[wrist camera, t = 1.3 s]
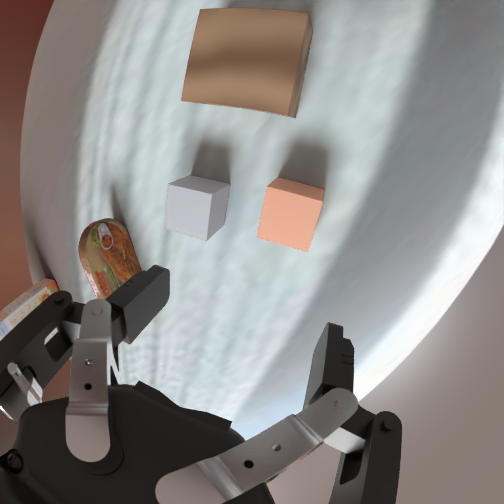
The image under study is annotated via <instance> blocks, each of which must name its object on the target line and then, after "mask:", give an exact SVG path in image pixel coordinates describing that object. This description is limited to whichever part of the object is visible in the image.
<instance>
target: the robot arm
mask: <svg viewBox="0 0 504 504" xmlns="http://www.w3.org/2000/svg"><path fill="white" fill-rule="evenodd" d="M169 295H170V271H169V270H168V269H166V268H163V267H161V266H158V265H154V266H152V267H151V268H150V269H149V270H147V271H141V272H139V273H136V274H134V275H133V276H132V277H131V278H130V279H128V281H126V282H125V283H124V284H123V285H121V286H120V287H119V288H118V289H116V290H115V291H114V292H113V293H112V294H111V295H109V296H108V297H107V298H106V299H105V300H103V299H94V300H91V301H89V302H87V303H86V304H82V303H78V302H73V299H72V295H71V294H70V293H69V292H67V291H57V292H54V293H52V294H51V295H50V296H49V297H48V298H46V299H45V300H44V301H43V302H42V303H41V304H39V305H38V306H37V307H36V308H35V309H34V310H33V311H31V312H30V313H29V314H28V315H27V316H26V317H25V318H24V319H23V320H22V321H20V322H19V323H18V324H17V325H16V326H15V327H14V328H13V329H12V330H11V331H10V332H9V333H8V334H7V335H6V336H5V337H4V338H3V339H2V340H1V341H0V409H1V410H2V411H3V412H4V413H5V414H6V415H7V416H8V417H9V418H11V419H13V420H14V421H15V422H16V423H17V424H18V426H17V432H16V436H15V440H14V442H13V445H12V447H11V449H10V450H9V451H8V452H7V453H6V454H4V455H2V456H1V457H0V504H275V502H274V500H273V498H272V495H271V493H270V491H269V489H268V487H267V485H266V484H267V483H268V482H270V481H272V480H274V479H275V478H276V477H278V476H280V475H281V474H283V473H284V472H286V471H287V470H288V469H290V468H291V467H293V466H294V465H295V464H297V463H298V462H299V461H301V460H302V459H303V458H305V457H306V456H307V455H309V454H310V453H311V452H313V451H314V450H315V449H316V448H318V447H319V446H320V445H322V444H323V443H326V444H328V445H330V446H332V447H334V448H336V449H338V450H340V451H342V452H341V457H340V462H339V466H338V470H337V474H336V479H335V483H334V486H333V490H332V494H331V498H330V501H329V504H395V502H396V496H397V488H398V480H399V470H400V459H401V442H402V424H401V421H400V419H399V418H398V417H397V416H396V415H395V414H394V413H392V412H388V411H383V412H380V413H378V414H377V415H375V414H373V413H371V412H369V411H367V410H365V409H363V408H362V407H361V406H360V405H359V404H358V401H357V398H356V396H355V395H354V394H353V380H354V366H353V365H354V347H353V345H352V343H351V341H350V339H346V338H343V326H340V325H336V324H333V323H329V322H328V323H327V324H326V326H325V328H324V330H323V333H322V335H321V337H320V339H319V341H318V343H317V345H316V348H315V350H314V354H313V359H312V364H311V370H310V375H309V381H308V386H307V391H306V396H305V401H304V405H303V410H302V411H301V412H300V413H298V414H297V415H294V414H292V415H290V416H288V417H286V418H284V419H283V420H281V421H280V422H278V423H276V424H275V425H273V426H271V427H270V428H268V429H266V430H265V431H263V432H261V433H260V434H258V435H256V436H254V437H252V438H251V439H249V440H247V441H245V439H244V438H243V437H242V436H241V435H240V434H239V433H237V432H236V431H235V430H233V429H232V428H230V426H231V423H232V421H229V420H227V419H224V418H221V417H218V416H216V415H213V414H210V413H208V412H203V411H197V410H192V409H186V408H182V407H179V406H178V405H176V404H175V403H174V402H173V401H171V400H170V399H169V398H168V397H166V396H165V395H164V394H163V393H161V392H160V391H158V390H156V389H154V388H152V387H150V386H148V385H147V384H145V383H143V382H141V381H138V382H137V384H136V385H135V386H134V385H128V384H122V379H121V367H120V346H119V344H120V343H121V342H122V341H124V342H126V343H128V344H131V343H132V342H133V341H134V339H135V338H136V337H137V336H138V335H139V334H140V333H141V332H142V330H143V329H144V328H145V327H146V326H147V325H148V324H149V323H150V321H151V320H152V319H153V318H154V317H155V316H156V315H157V314H158V312H159V311H160V310H161V309H162V308H163V307H164V306H165V305H166V303H167V301H168V299H169ZM55 328H57V330H58V332H57V333H56V334H55V335H54V336H53V337H52V338H51V339H50V340H49V341H48V342H47V343H46V344H45V339H46V337H47V336H48V335H49V334H50V333H51V332H52V331H53V330H54V329H55ZM71 356H72V361H71V373H70V389H69V397H65V398H60V399H56V400H52V401H47V402H42V400H41V398H42V390H43V389H44V388H45V386H46V385H47V384H48V383H49V381H50V380H51V379H52V378H53V377H54V375H55V374H56V373H57V372H58V371H59V369H60V368H61V367H62V366H63V365H64V364H65V362H66V361H67V360H68V359H69V358H70V357H71Z"/></svg>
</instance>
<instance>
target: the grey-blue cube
mask: <svg viewBox="0 0 504 504" xmlns="http://www.w3.org/2000/svg"><path fill="white" fill-rule="evenodd" d="M229 189H230V184H228V183H224V182H220V181H215V180H211V179H206V178H202V177H197V176H192V175H190V176H187V177H184V178H182V179H179V180H177V181H174V182H172V183H169V184H168V186H167V201H166V219H165V229H168V230H171V231H174V232H178V233H181V234H184V235H188V236H191V237H194V238H197V239H201V240H204V241H207V240H208V239H209V238H210V237H211V236H213V235H214V234H215V233H216V232H217V231H218V230H219V229H220V228H221V227H222V226H223V225H224V222H225V215H226V209H227V202H228V196H229Z"/></svg>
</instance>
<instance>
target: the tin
mask: <svg viewBox="0 0 504 504" xmlns="http://www.w3.org/2000/svg"><path fill="white" fill-rule="evenodd" d="M79 257H80V261H81V263H82V266H83V268H84V271H85V273H86V275H87V278H88V280H89V282H90V284H91V287H92V289H93V291H94V293H95V295H96V297H97V299H103V300H105V299H106V298H107V297H108V296H109V295H111V294H112V293H113V292H114V291H115V290H116V289H118V288H119V287H120V286H121V285H123V284H124V283H125V282H126V281H128V279H130V278H131V277H132V276H133V275H134V274H136V273H139V272H141V268H140V265H139V263H138V260H137V257H136V254H135V251H134V248H133V245H132V242H131V239H130V236H129V234H128V232H127V230H126V228H125V227H124V226H123V225H122V224H121V223H120V222H119V221H117V220H115V219H111V218H106V219H102V220H99V221H95V222H93V223H91V224H90V225H89V226H88V227H87V228H86V229H85V230H84V231H83V233H82V235H81V238H80V241H79Z"/></svg>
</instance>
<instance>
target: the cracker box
mask: <svg viewBox="0 0 504 504" xmlns="http://www.w3.org/2000/svg"><path fill="white" fill-rule="evenodd" d="M57 291H59V289H58V287H57V285H56V282H55V280H52V279H48V278H44V279H42V280H41V281H40V282H38V283H37V284H35V285H34V286H33V287H31V288H30V289H29V290H27V291H26V292H25V293H23V294H22V295H21V296H20V297H18V298H17V299H15V300H14V301H13V302H12V303H10V304H9V305H8V306H6V307H5V308H4V309H3V310H2V311H0V341H1V340H2V339H3V338H4V337H5V336H6V335H7V334H8V333H9V332H10V331H11V330H12V329H13V328H14V327H15V326H16V325H17V324H18V323H19V322H20V321H22V320H23V319H24V318H25V317H26V316H27V315H28V314H29V313H30V312H31V311H33V310H34V309H35V308H36V307H37V306H38V305H39V304H41V303H42V302H43V301H44V300H45V299H46V298H48V297H49V296H50V295H51V294H52V293H54V292H57ZM57 332H58V330H57V328H55V329H54V330H53V331H52V332H51V333H50V334H49V335H48V336H47V337H46V339H45V344H46V343H47V342H48V341H49V340H50V339H51V338H52V337H53V336H54V335H55V334H56V333H57Z"/></svg>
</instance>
